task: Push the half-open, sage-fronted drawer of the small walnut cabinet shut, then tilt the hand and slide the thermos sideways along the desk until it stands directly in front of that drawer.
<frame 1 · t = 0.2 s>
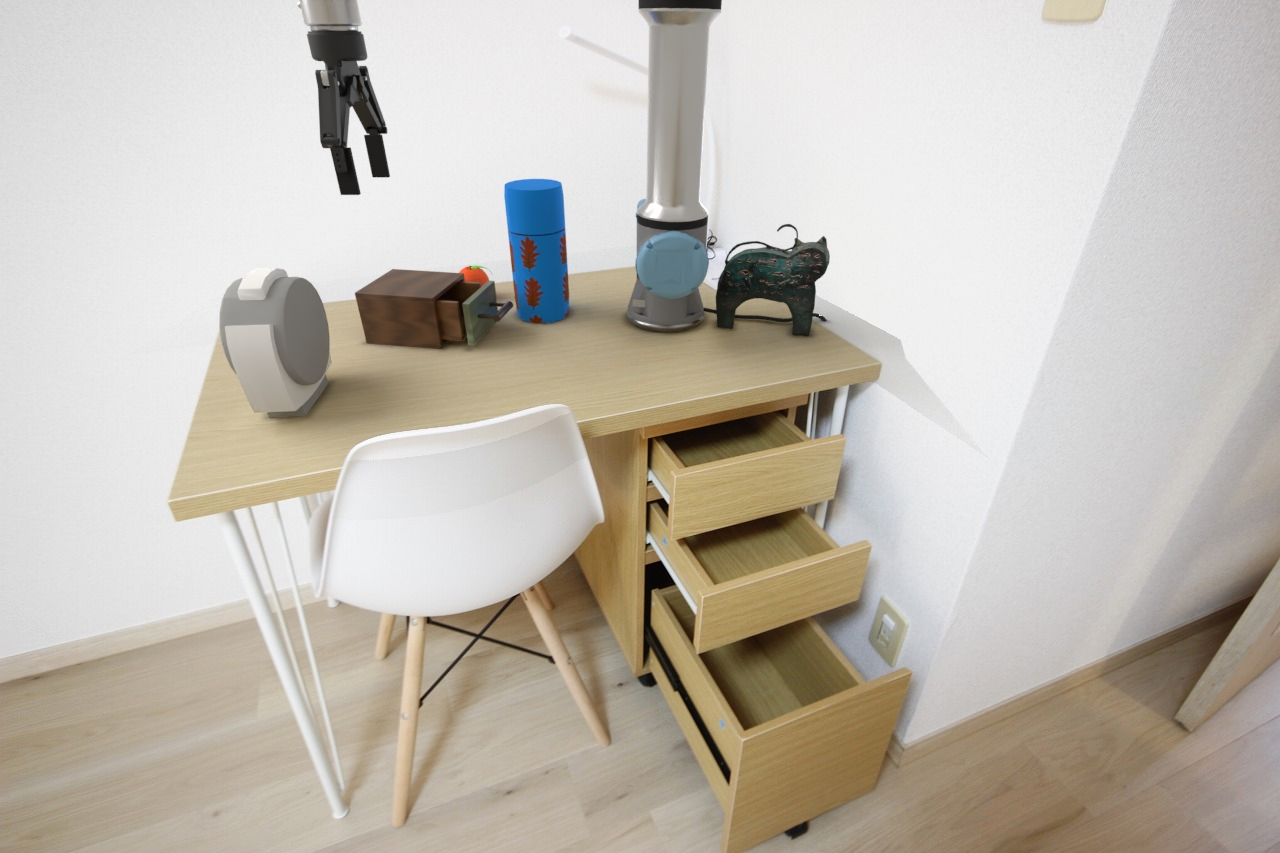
hand: (367, 185, 103), 28 cm above the table, tool pointing down, fingers open, 13 cm apart
alarm clock: (300, 400, 100), on the table
ceramic cat: (765, 330, 124), on the table
thermos: (543, 314, 131), on the table
clementine: (477, 299, 138), on the table
cabinet: (420, 331, 123), on the table
drawer: (461, 310, 119), point 5 cm above the table, slide at 5.0 cm
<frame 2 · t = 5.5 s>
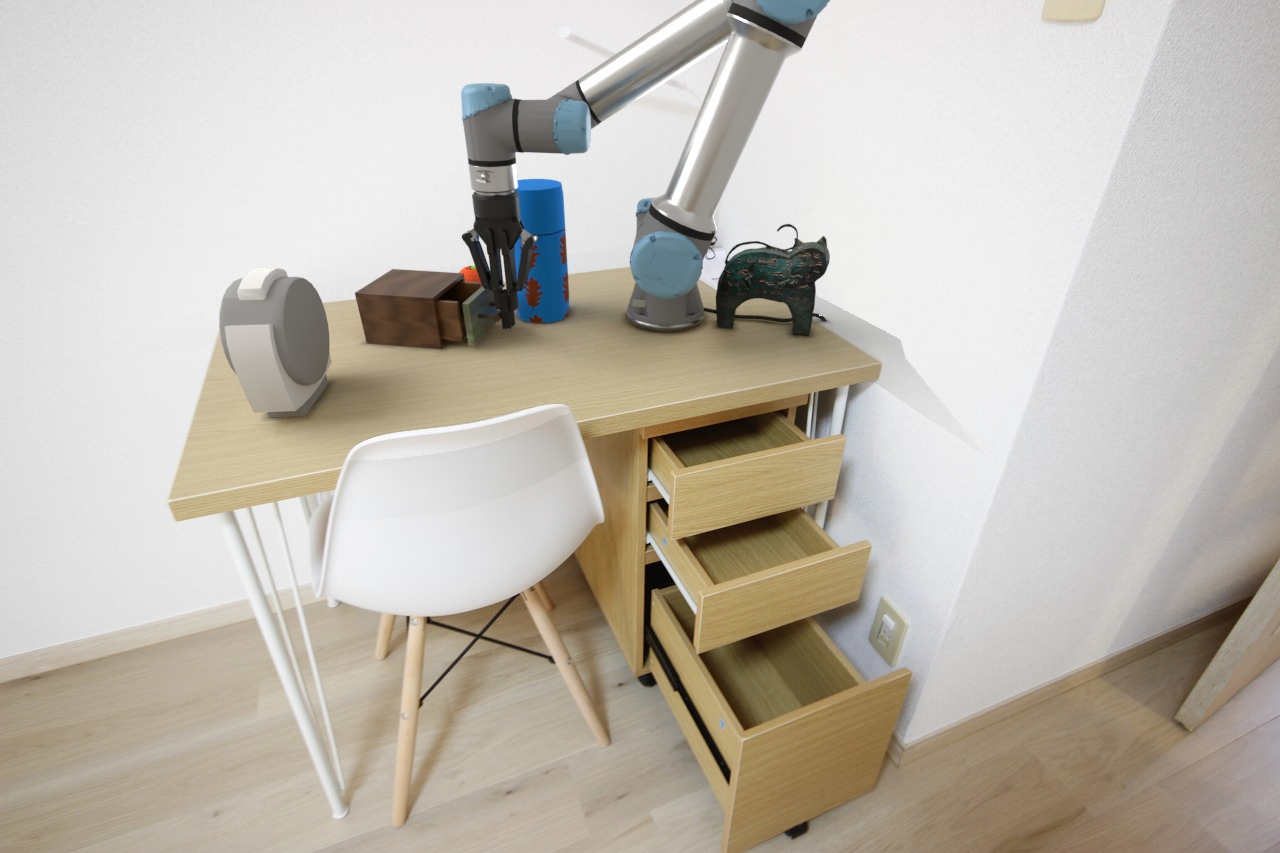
hand: (508, 326, 117), 3 cm above the table, tool pointing down, fingers closed
drawer: (461, 310, 119), point 5 cm above the table, slide at 5.0 cm, touching gripper
everything else where it was.
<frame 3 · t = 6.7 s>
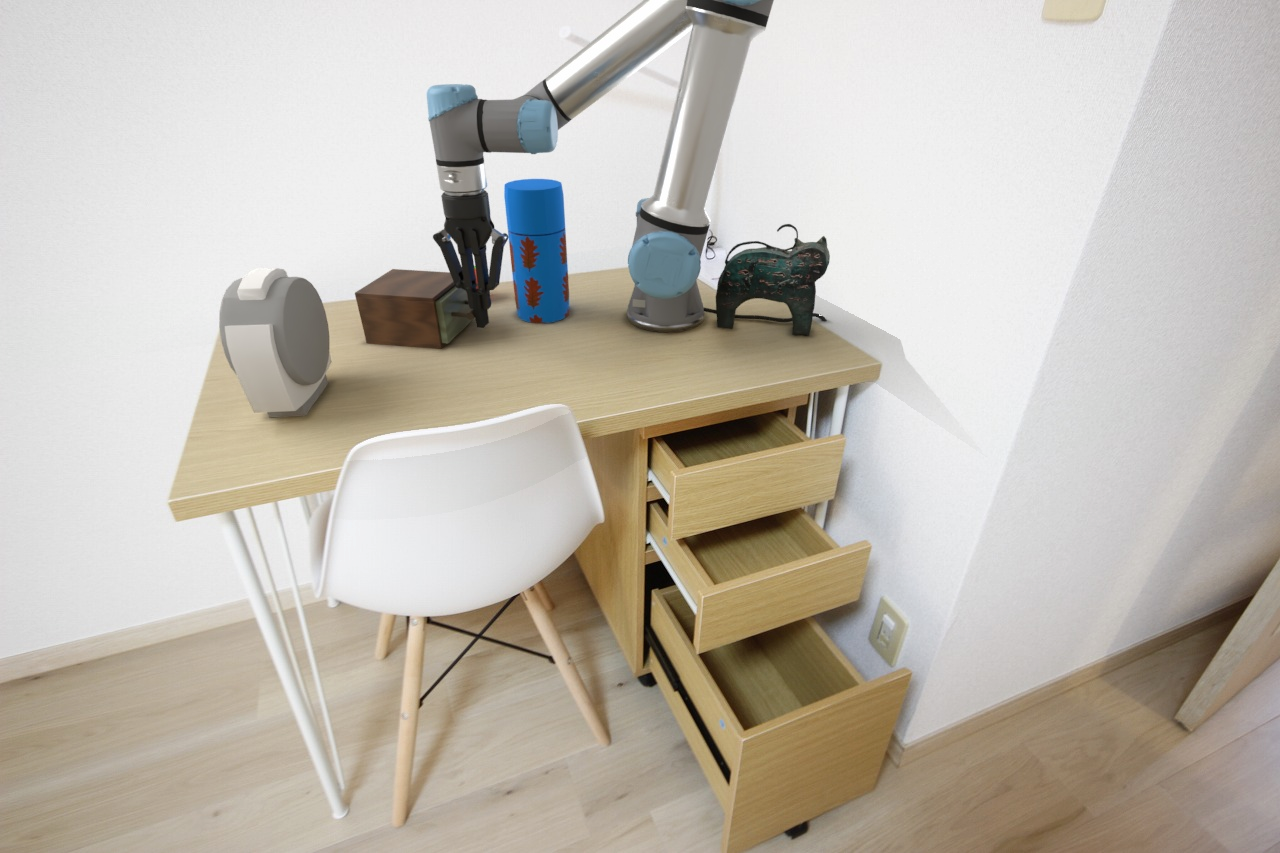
hand: (482, 325, 118), 3 cm above the table, tool pointing down, fingers closed
drawer: (435, 308, 120), point 5 cm above the table, slide at 0.0 cm, touching cabinet, gripper
everything else where it was.
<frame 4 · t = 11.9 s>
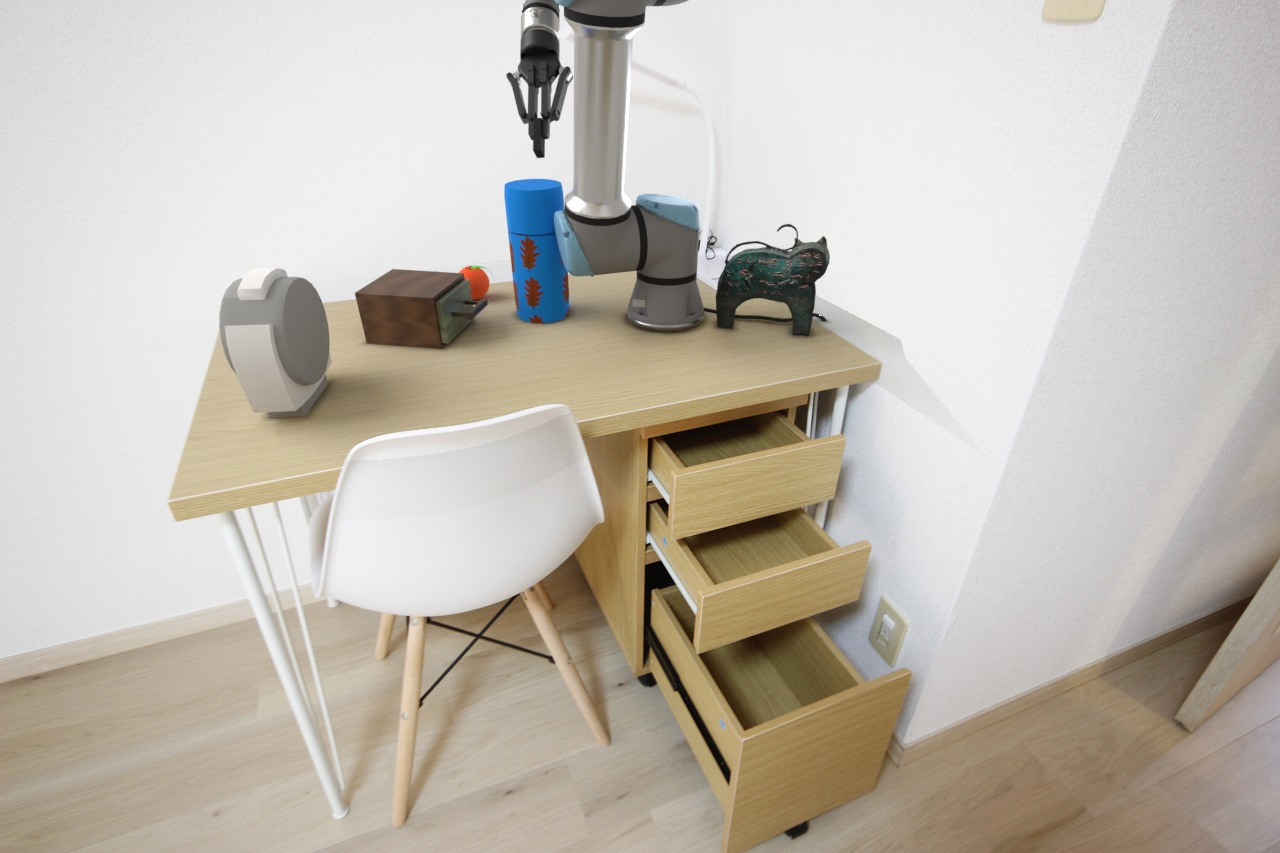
hand: (538, 153, 122), 29 cm above the table, tool tilted 40°, fingers closed
drawer: (435, 308, 120), point 5 cm above the table, slide at 0.0 cm
everything else where it was.
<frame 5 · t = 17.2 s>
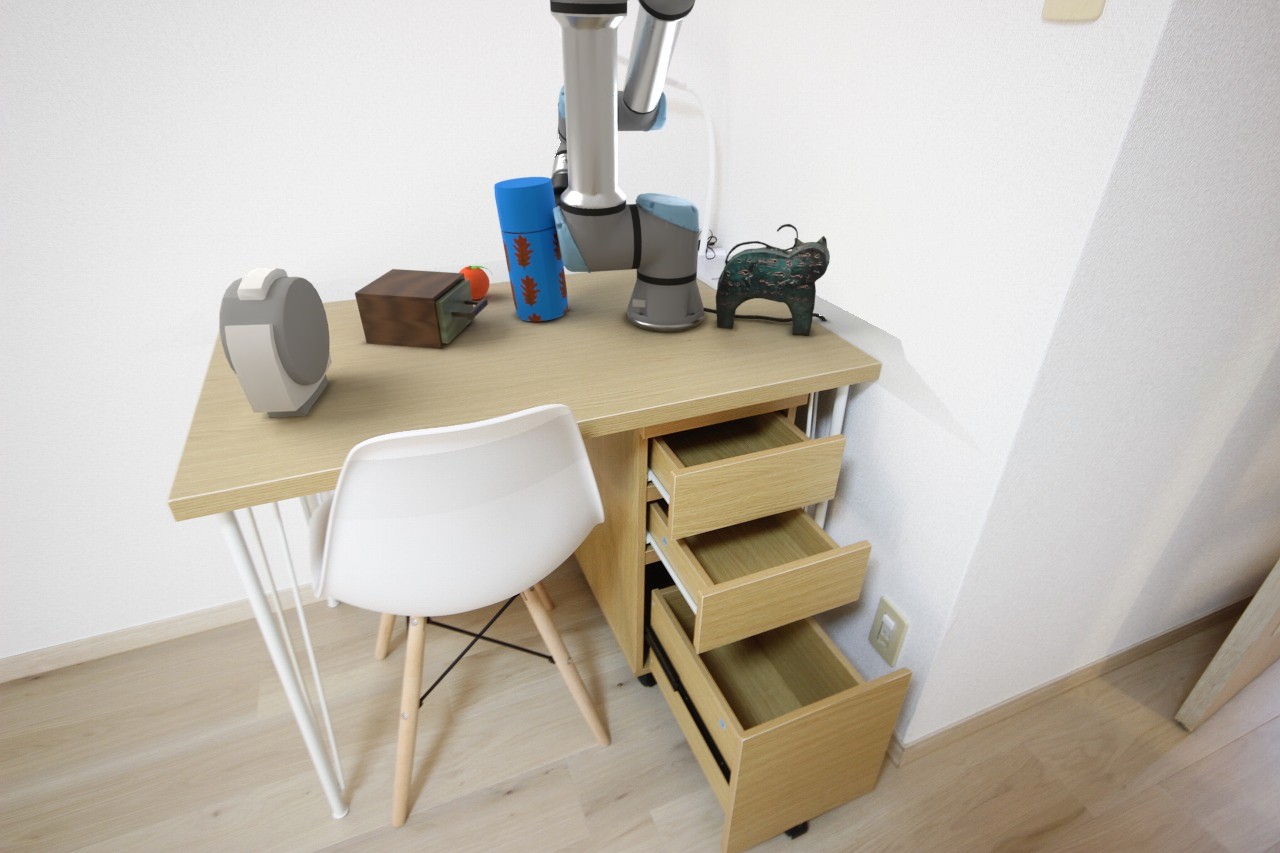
hand: (551, 281, 134), 4 cm above the table, tool tilted 45°, fingers closed
thermos: (543, 312, 131), on the table, touching gripper
everything else where it was.
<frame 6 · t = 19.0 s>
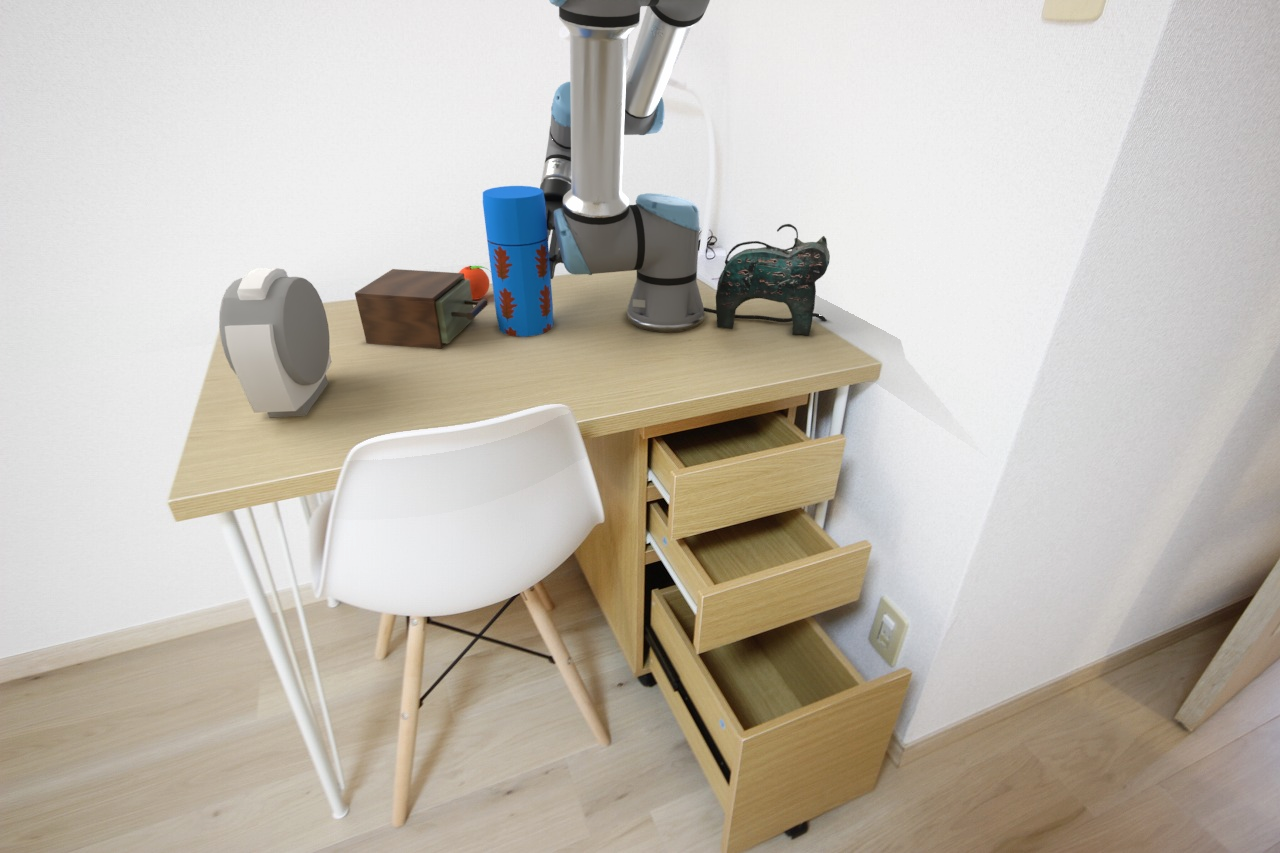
hand: (540, 292, 128), 5 cm above the table, tool tilted 45°, fingers closed
thermos: (525, 326, 125), on the table, touching gripper
everything else where it was.
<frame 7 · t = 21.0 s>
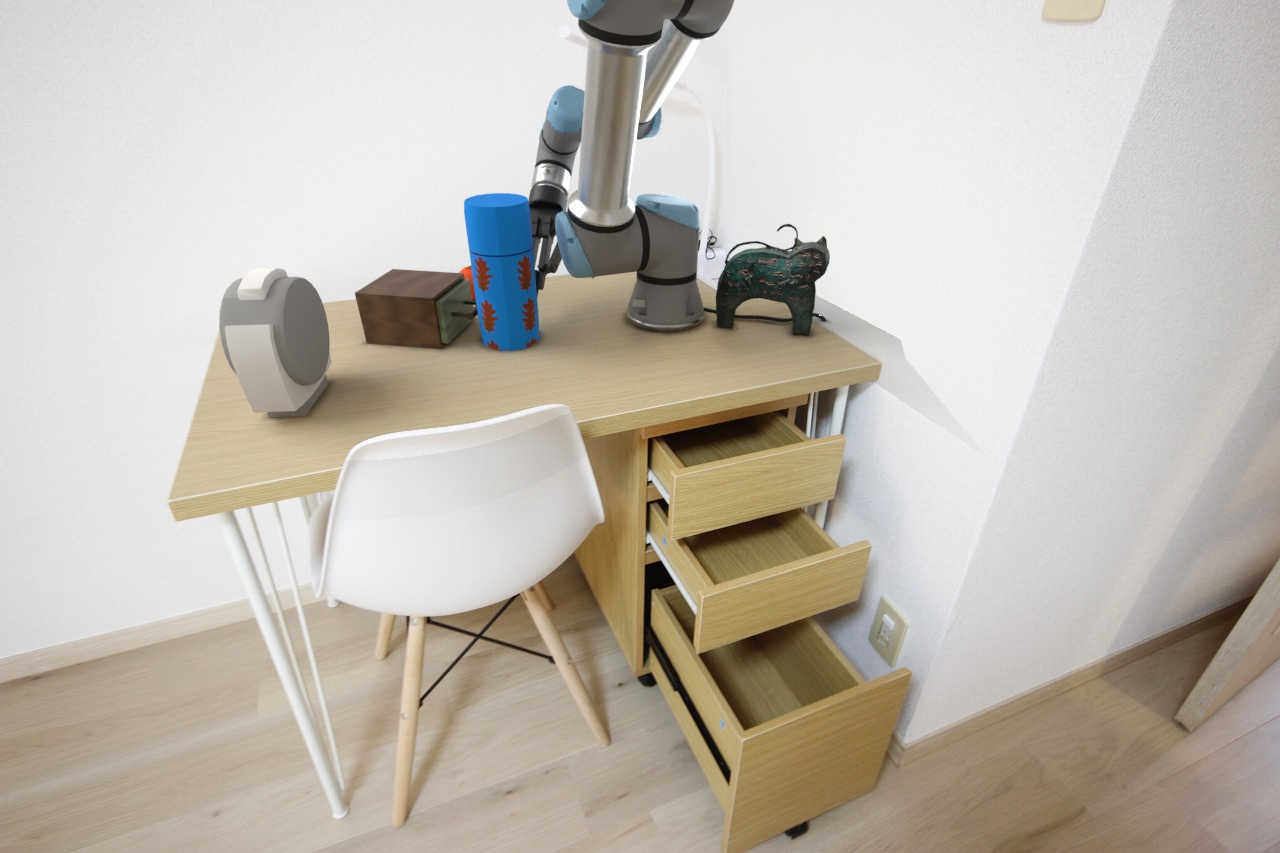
hand: (529, 304, 123), 5 cm above the table, tool tilted 45°, fingers closed
thermos: (511, 339, 120), on the table, touching gripper
drawer: (435, 308, 120), point 5 cm above the table, slide at 0.0 cm, touching cabinet
everything else where it was.
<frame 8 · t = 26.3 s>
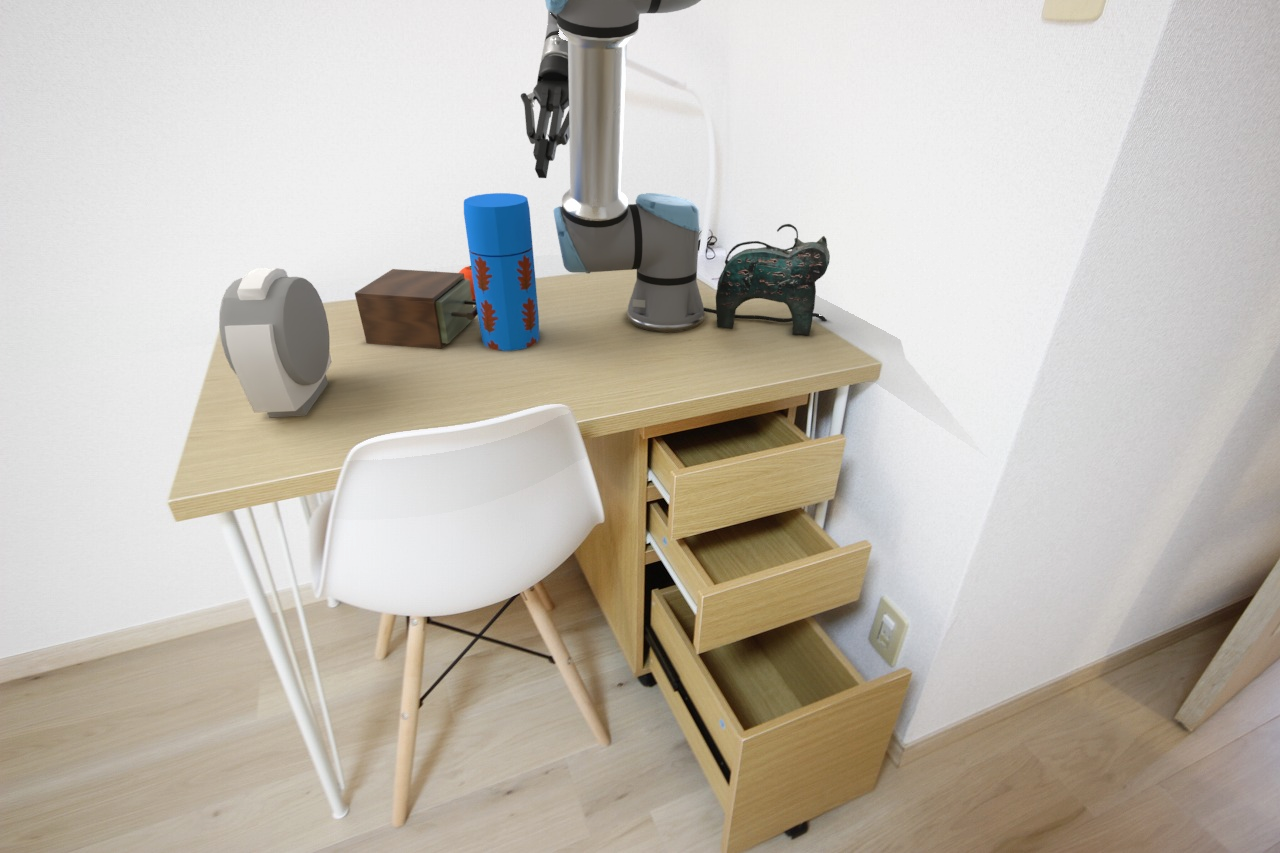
hand: (540, 173, 121), 26 cm above the table, tool tilted 45°, fingers closed
thermos: (511, 339, 120), on the table, touching drawer
drawer: (435, 308, 120), point 5 cm above the table, slide at 0.0 cm, touching cabinet, thermos
everything else where it was.
at the end: drawer slide at 0.0 cm; thermos inside the target area in the drawer (2.4 cm from its centre), point 0.0 cm above the cabinet's base; thermos tilted 0° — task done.
